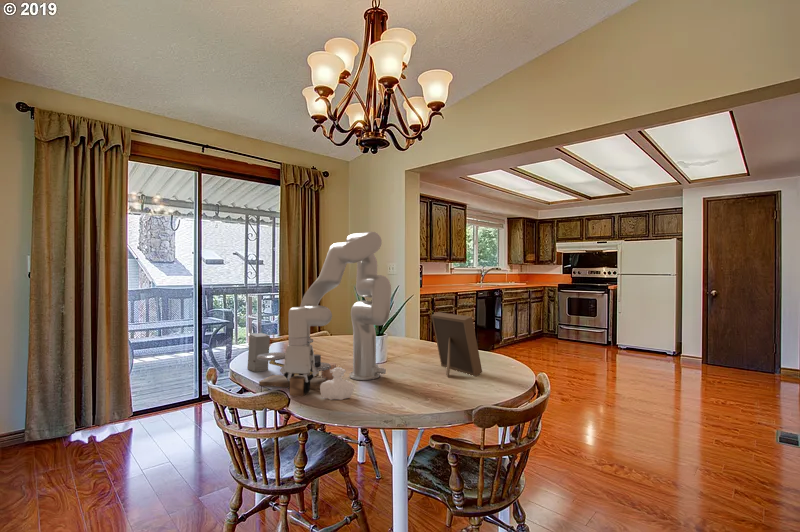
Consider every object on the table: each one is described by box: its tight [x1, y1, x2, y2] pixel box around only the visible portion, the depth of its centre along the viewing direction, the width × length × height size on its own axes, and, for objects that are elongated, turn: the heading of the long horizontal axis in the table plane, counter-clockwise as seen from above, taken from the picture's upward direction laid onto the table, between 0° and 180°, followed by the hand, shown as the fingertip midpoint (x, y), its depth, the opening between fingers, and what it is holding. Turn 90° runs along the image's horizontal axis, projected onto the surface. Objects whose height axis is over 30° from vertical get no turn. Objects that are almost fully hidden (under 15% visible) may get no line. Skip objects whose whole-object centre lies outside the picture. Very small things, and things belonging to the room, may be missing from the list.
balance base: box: [258, 374, 327, 390], centre depth 158 cm, size 24×10×2 cm, turn 77°
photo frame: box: [430, 311, 483, 378], centre depth 175 cm, size 15×22×25 cm
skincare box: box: [247, 332, 271, 373], centre depth 180 cm, size 8×7×16 cm
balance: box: [257, 351, 331, 377], centre depth 158 cm, size 30×12×10 cm, turn 77°
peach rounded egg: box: [320, 362, 337, 381], centre depth 164 cm, size 6×6×6 cm
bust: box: [319, 366, 355, 401], centre depth 142 cm, size 12×8×11 cm
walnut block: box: [289, 375, 309, 397], centre depth 146 cm, size 5×5×6 cm
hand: (299, 391), depth 146 cm, fingers closed on walnut block, 5 cm apart
